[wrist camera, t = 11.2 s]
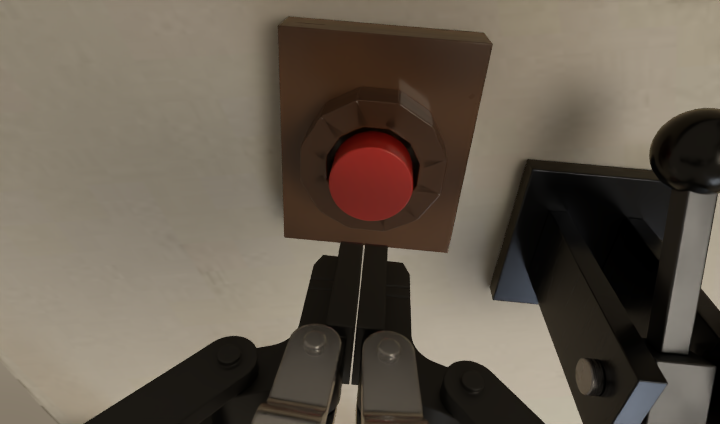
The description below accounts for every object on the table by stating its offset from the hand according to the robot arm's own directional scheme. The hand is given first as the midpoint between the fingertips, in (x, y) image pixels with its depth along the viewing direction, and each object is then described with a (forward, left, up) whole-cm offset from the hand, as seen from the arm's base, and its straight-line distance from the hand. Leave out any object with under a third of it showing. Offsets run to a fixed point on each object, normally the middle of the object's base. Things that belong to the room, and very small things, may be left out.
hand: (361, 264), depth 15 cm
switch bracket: (+5, +12, -11) cm, 17 cm away
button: (0, 0, -7) cm, 7 cm away
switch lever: (+2, +12, -4) cm, 13 cm away
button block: (0, 0, -11) cm, 11 cm away
